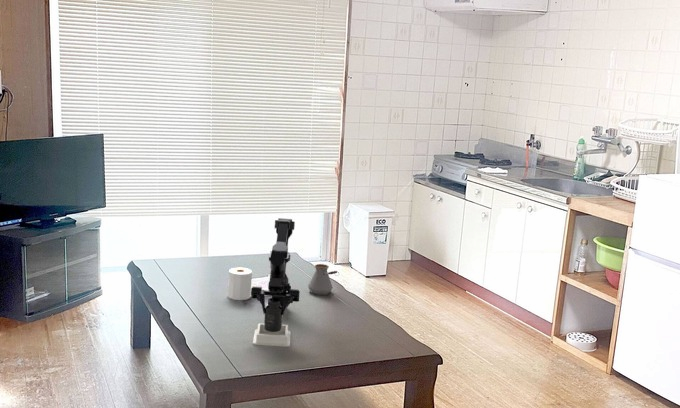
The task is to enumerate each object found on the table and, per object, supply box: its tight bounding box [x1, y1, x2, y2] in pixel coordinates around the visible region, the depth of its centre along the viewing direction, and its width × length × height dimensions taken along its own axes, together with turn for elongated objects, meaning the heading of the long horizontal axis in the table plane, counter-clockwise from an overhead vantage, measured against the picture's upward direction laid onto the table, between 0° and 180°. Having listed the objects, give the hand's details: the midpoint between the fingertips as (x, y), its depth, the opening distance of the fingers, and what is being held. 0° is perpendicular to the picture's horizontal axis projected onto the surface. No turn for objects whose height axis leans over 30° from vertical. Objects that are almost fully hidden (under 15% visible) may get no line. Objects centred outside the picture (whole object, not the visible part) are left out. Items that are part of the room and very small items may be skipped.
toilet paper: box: [227, 267, 253, 301], centre depth 326 cm, size 10×10×12 cm
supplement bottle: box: [263, 297, 283, 332], centre depth 282 cm, size 7×7×12 cm
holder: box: [252, 323, 291, 348], centre depth 283 cm, size 14×14×4 cm
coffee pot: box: [307, 263, 340, 296], centre depth 336 cm, size 21×12×15 cm, turn 27°
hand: (273, 314), depth 280 cm, fingers closed on supplement bottle, 7 cm apart
